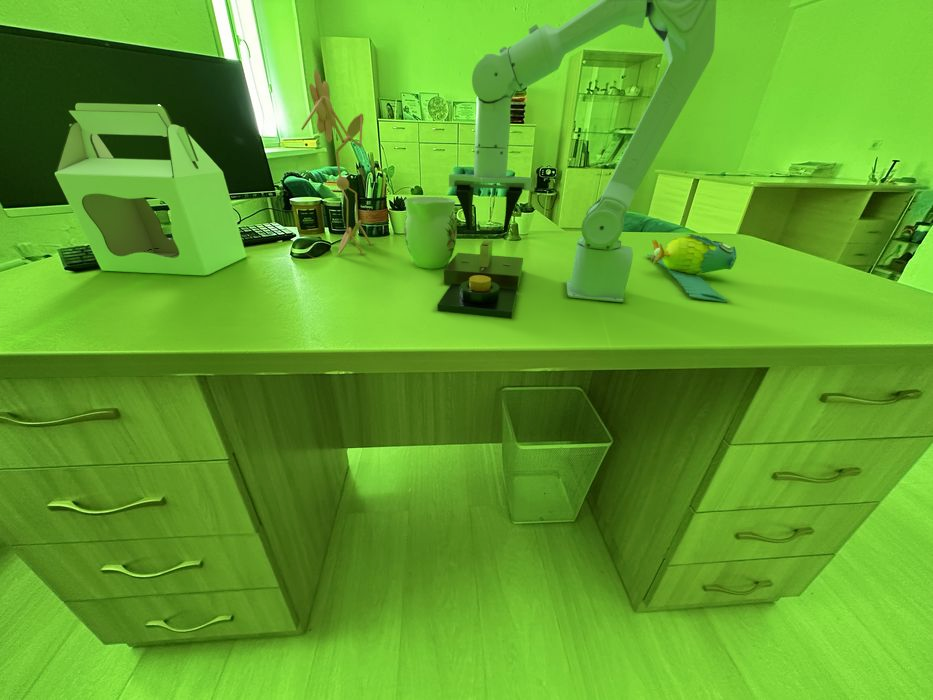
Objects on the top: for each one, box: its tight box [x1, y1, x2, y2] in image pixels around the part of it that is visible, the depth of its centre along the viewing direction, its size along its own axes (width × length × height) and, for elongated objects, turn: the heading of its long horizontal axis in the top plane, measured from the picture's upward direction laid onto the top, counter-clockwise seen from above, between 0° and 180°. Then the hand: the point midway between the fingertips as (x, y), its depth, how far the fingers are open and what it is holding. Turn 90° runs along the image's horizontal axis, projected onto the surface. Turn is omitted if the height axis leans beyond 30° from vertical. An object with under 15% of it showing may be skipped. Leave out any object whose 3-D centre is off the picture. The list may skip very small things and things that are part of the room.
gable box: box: [54, 102, 247, 277], centre depth 70 cm, size 22×13×28 cm, turn 86°
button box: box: [437, 281, 518, 319], centre depth 62 cm, size 12×10×3 cm
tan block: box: [479, 238, 494, 267], centre depth 71 cm, size 6×2×4 cm, turn 169°
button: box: [469, 275, 491, 291], centre depth 61 cm, size 4×4×2 cm
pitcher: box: [403, 196, 458, 270], centre depth 78 cm, size 11×18×14 cm, turn 174°
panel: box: [443, 252, 524, 292], centre depth 73 cm, size 14×12×3 cm
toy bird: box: [646, 233, 738, 303], centre depth 75 cm, size 28×9×15 cm
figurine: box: [300, 69, 379, 259], centre depth 81 cm, size 15×26×35 cm, turn 0°
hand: (487, 230), depth 69 cm, fingers open, 6 cm apart
